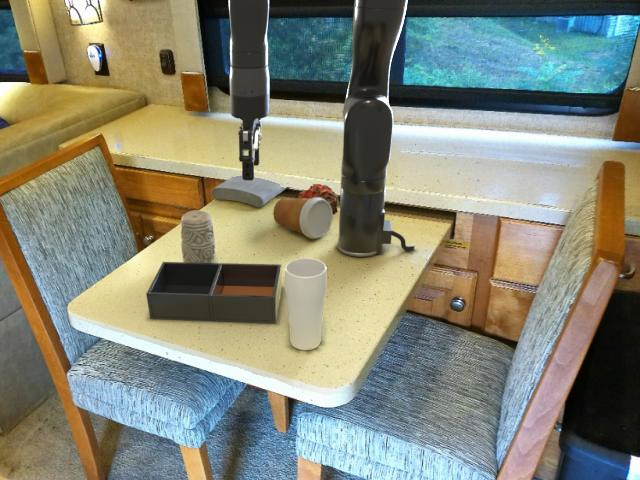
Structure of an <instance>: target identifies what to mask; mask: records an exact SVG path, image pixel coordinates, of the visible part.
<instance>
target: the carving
mask: <svg viewBox="0 0 640 480" xmlns="http://www.w3.org/2000/svg"><path fill="white" fill-rule="evenodd" d="M180 223H181V224H180V225H181V229H180V239H181V241H180V243H181V244H180V247H181V256H182V262H191V263H214V259H215V253H216V252H215V251H216V242H215V241H216V240H215V234H214V233H215V232H214V223H213V219H212V217H211V215H210V214H209V213H208V212H206V211H205V210H198V209H197V210H195V209H193V210H190V211H187V212H186V213H184V214H183V215H182V217H181V219H180Z"/></svg>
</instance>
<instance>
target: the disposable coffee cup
mask: <svg viewBox="0 0 640 480" xmlns="http://www.w3.org/2000/svg"><path fill="white" fill-rule="evenodd" d="M272 214H273V220H274V221H275V223H276V224H277V225H279V226H282V227H284V228H287V229H290V230H292V231H295V232H297V233H300V234H302V235H304V236H305V237H307V238H308V239H311V240H315V239H320V238H321V237H324V236H325V235H326V234H327V233H328V232H329V230H330V228H331V226H332V223H333V218H334V215H333V212H332V208H331V205H330V204H329V203H328V202H327V201H326V200H325V199H323V198H322V197H314V198H310V199H309V198H308V199H307V198H306V199H305V198H304V199H303V198H302V199H297V198H281V199H279V200H277V202H276V203H275V205H274V207H273V211H272Z"/></svg>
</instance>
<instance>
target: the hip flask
mask: <svg viewBox="0 0 640 480" xmlns="http://www.w3.org/2000/svg"><path fill="white" fill-rule="evenodd" d="M287 189H288V188H282V187H281V186H280V184H278V183H275V182H272V181H269V180H265V179H261V178H255V177H254V179H253V180H243V178H242V176H236V177H233V176H231V177H230V178H228V179H226V180H225V181H223V182H222V183H220V184H218V185H217V186H215V187H214V188H212V190H211V196H212V197H213V198H214V199H215V200H227V201H234V202H240V203H244V204H247V205H250V206H253V207H255V208H262V207H263V206H265V205H266V204H268V203H269V202H271V201H272V200H273V199H275V198H276V197H277V196H279V195H280V194H281V193H283V192H284V191H285V190H287Z"/></svg>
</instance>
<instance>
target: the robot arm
mask: <svg viewBox="0 0 640 480" xmlns="http://www.w3.org/2000/svg"><path fill="white" fill-rule="evenodd" d="M407 5H408V0H354V4H353V17H352V18H353V19H352V61H351V69H350V75H349V80H348V86H347V90H346V93H345V100H344V103H343V108H342V122H343V138H342V139H343V142H342V144H343V145H342V157H341V164H340V165H341V167H340V168H341V169H340V192H339V193H340V196H339V203H340V205H339V218H338V219H339V222H338V242H337V248H338V250H339V252H341V253H342V254H344V255H346V256H350V257H357V258H365V257H372V256H375V255H381V254H382V253H383V245H391V244H392V237H394V238H396V239H398V240H399V241H400V247H401V249H402V250H404V251H406V252H412V251H413V252H414V251H415V245H411V246H409V245H406V244H407V243H406V239H405V237H404V236H403V235H402V234H401V233H399V232H397V231H394V230H393V229H392V222H391V220H390V219H385V216H386V215H385V213H386V212H385V201H386V200H385V199H386V188H387V176H388V166H389V163H390V160H391V151H392V140H393V129H394V115H393V110H392V108H391V106H390V103H389V86H390V85H389V84H390V71H391V64H392V60H393V56H394V52H395V50H396V47H397V43H398V41H399V38H400V35H401V32H402V29H403V25H404V21H405V16H406V13H407V12H406V11H407V7H408V6H407ZM228 10H229V11H228V13H229V24H230V39H229V64H230V66H229V67H230V70H229V95H230V96H229V100H230V101H229V102H230V105H229V106H230V115H231V116H232V117H233V118H235V119H237V120H241V124H240V126H239V128H238V151H239V152H238V154H239V156H238V161H239V163H241V171H242V178H243V180H253V179H254V167H259V165H260V147H261V144H262V143H261V141H262V139H263V137H262V127H263V126H262V125H263V124H262V119H265V118H267V117H268V116H269V115H270V111H271V110H270V109H271V105H270V102H271V100H270V99H271V98H270V97H271V96H270V94H271V93H270V92H271V90H270V89H271V88H270V87H271V85H270V81H271V80H270V78H271V77H270V71H269V69H270V68H269V40H268V28H269V27H268V26H269V13H270V0H228ZM245 152H247V154H248V155H245Z"/></svg>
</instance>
